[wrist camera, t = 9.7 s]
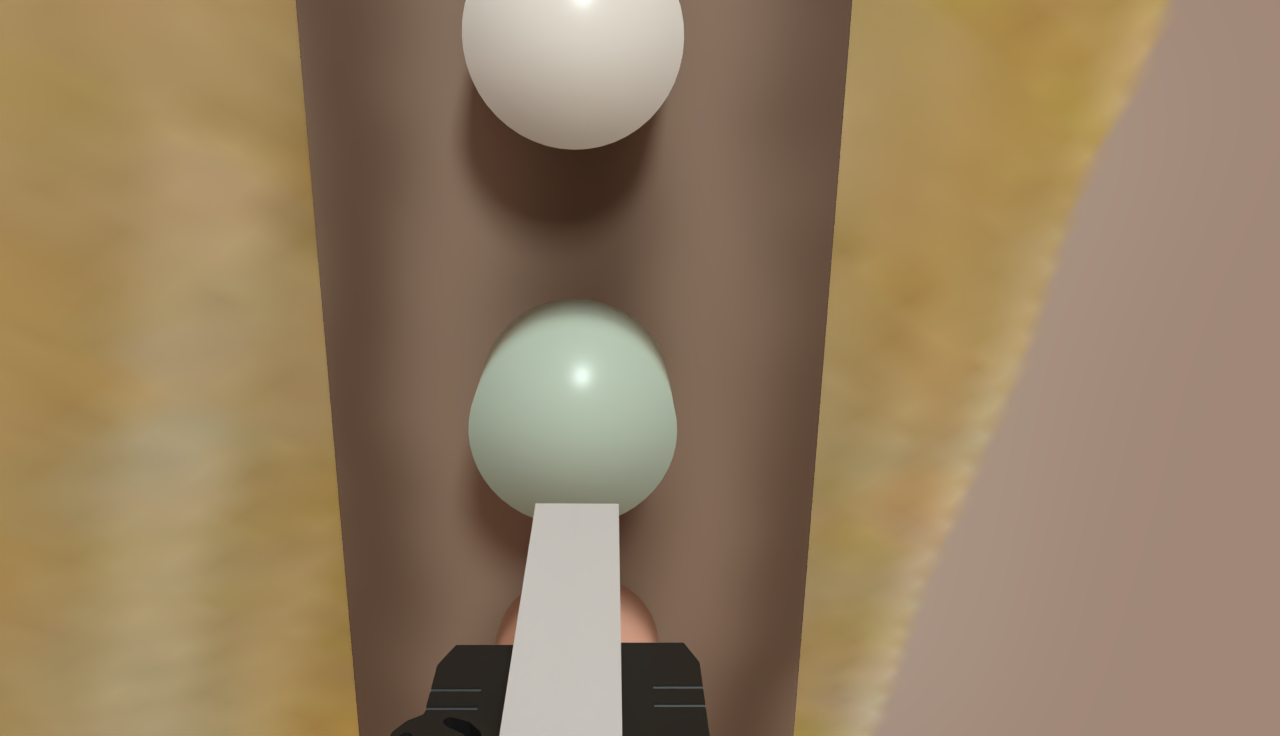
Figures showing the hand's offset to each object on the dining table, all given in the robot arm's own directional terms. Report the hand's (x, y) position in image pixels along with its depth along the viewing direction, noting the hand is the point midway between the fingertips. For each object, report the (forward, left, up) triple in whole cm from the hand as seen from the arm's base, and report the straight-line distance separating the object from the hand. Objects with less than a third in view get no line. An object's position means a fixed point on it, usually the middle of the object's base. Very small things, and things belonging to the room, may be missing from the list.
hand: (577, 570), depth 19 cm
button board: (0, 0, -14) cm, 14 cm away
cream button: (0, +9, -11) cm, 14 cm away
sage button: (0, 0, -9) cm, 9 cm away
